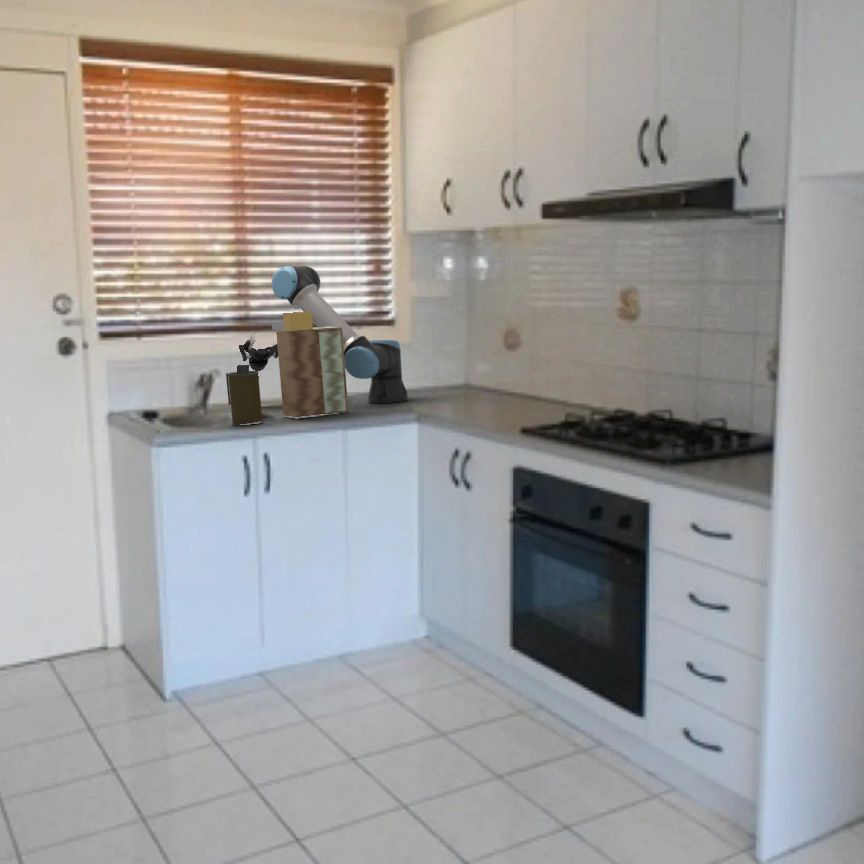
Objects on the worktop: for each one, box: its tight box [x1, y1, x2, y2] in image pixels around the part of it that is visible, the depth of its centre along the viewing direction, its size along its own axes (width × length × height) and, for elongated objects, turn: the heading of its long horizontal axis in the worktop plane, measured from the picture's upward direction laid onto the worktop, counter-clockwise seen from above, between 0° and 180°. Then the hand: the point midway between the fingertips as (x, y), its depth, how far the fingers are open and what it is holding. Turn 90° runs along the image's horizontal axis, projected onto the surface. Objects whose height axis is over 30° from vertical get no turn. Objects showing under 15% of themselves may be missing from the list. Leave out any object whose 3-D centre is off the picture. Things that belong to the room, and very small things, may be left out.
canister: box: [225, 365, 263, 426], centre depth 344 cm, size 11×10×20 cm
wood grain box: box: [276, 326, 349, 417], centre depth 354 cm, size 20×11×30 cm, turn 121°
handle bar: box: [271, 311, 314, 331], centre depth 355 cm, size 8×24×6 cm, turn 31°
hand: (271, 335), depth 369 cm, fingers open, 13 cm apart
